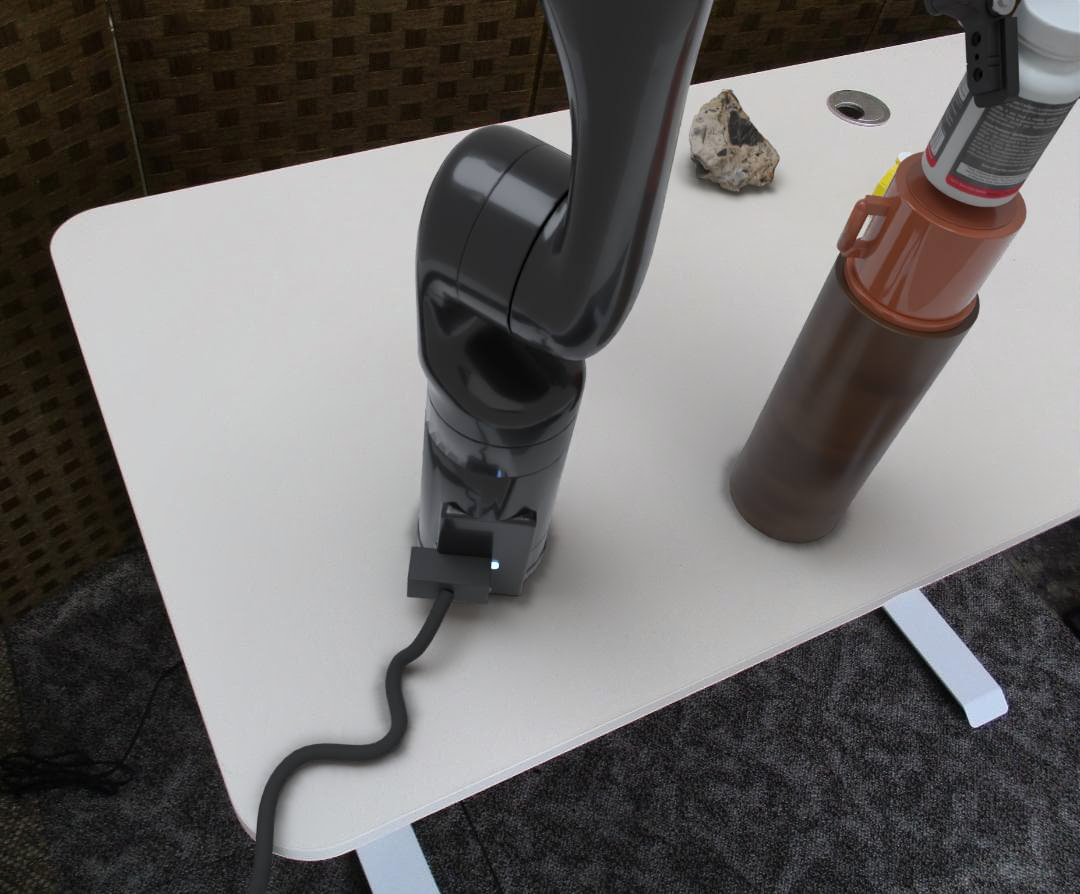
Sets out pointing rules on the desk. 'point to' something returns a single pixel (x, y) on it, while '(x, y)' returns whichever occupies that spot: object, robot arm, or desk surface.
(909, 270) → the upturned cup
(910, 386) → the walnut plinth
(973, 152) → the pill bottle
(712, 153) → the rock
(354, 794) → the desk surface
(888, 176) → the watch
